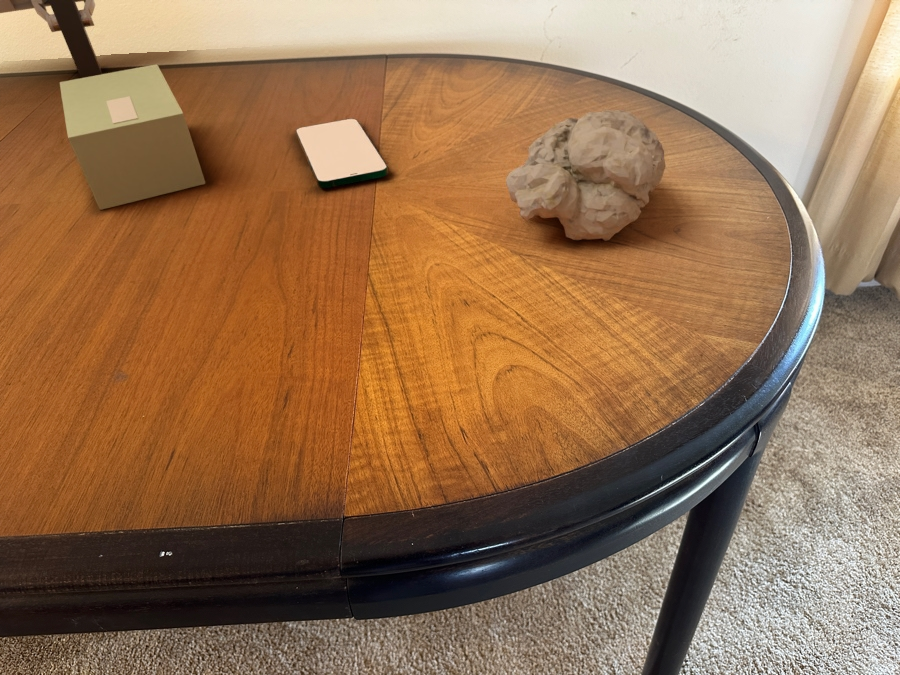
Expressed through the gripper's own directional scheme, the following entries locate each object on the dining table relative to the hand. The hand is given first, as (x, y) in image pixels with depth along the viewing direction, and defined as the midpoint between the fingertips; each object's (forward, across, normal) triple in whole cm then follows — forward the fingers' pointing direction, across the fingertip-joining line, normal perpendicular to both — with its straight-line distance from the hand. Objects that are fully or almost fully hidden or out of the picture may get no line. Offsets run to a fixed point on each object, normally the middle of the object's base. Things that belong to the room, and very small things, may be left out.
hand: (72, 26), depth 96 cm
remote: (+5, 0, +6) cm, 7 cm away
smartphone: (+38, +24, -28) cm, 54 cm away
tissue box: (+32, +3, -21) cm, 38 cm away
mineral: (+57, +41, -46) cm, 84 cm away
